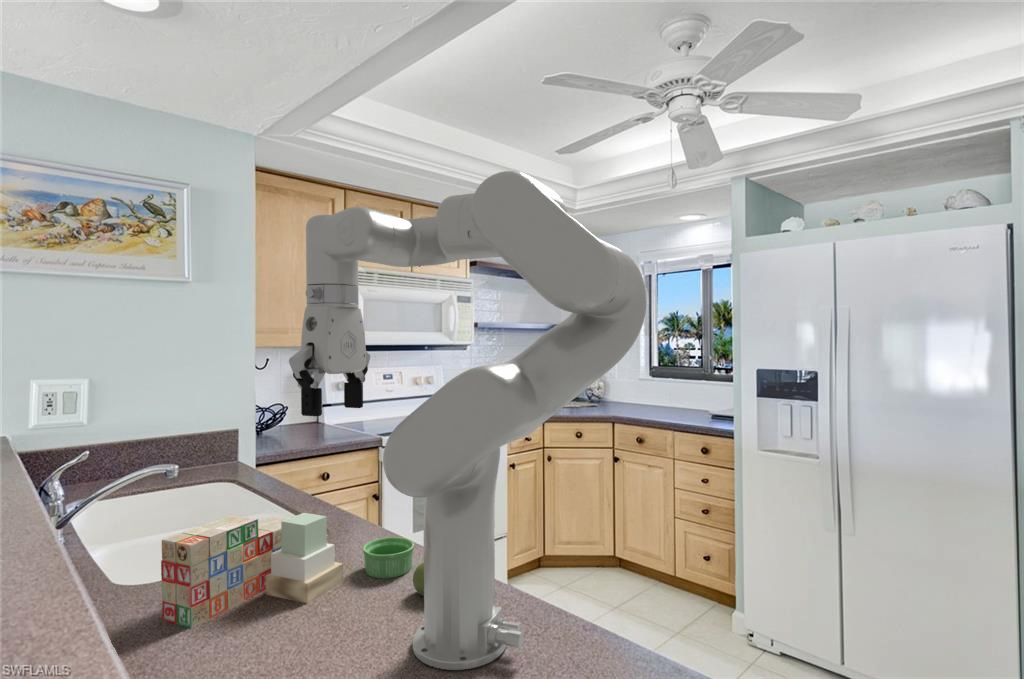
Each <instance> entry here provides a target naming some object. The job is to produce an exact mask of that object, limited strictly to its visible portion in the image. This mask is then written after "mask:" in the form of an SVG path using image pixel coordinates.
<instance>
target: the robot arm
mask: <svg viewBox="0 0 1024 679" xmlns="http://www.w3.org/2000/svg"><path fill="white" fill-rule="evenodd" d="M487 258H489V259H490V258H501V259H503V260H504V262H506V263H507V264H508V266H510V267H511V268H512V269H513V270H514V271H515V272H516V273H517V274H518V275H519V276H520V277H521V278H522V279H523V280H525V281H526V283H527V284H528V285H529V286H531V288H533V290H534V291H536V292H537V293H538V294H539V295H540V296H542V298H544V299H545V300H546V301H547V302H549V303H550V304H551V305H553V306H554V307H556V308H558V309H561V310H562V311H565V312H569V313H571V314H569V316H567V317H566V318H565V319H564V320H562V321H561V322H559V323H558V324H556V325H554V326H553V327H551V328H550V329H548V330H547V331H546V332H544V333H543V334H542V335H540V337H539V338H538V339H536V341H534V342H533V343H532V344H531V345H529V346H528V347H526V348H525V349H524V350H523V351H522V352H520V353H519V354H518V355H516V356H515V357H513V358H512V359H510V360H508V361H505V362H502V363H496V364H487V365H485V364H484V365H480V366H475V367H473V368H469V369H467V370H465V371H463V372H461V373H459V374H458V375H456V376H455V377H453V378H452V379H449V381H447V382H446V383H445V384H444V385H442V386H441V388H440V387H439V389H438V390H437V391H436V392H434V393H433V394H432V395H430V397H428V398H427V399H426V400H425V401H424V402H422V404H420V405H419V406H418V407H417V408H416V409H414V411H412V412H411V413H409V415H408V416H406V417H405V418H404V419H403V420H402V421H400V422H399V424H398V425H397V426H396V427H395V428H394V429H393V430H392V432H391V433H390V435H389V437H388V438H387V441H386V443H385V446H384V449H383V454H382V455H383V456H382V464H383V465H382V466H383V471H384V475H385V477H386V479H387V480H388V482H389V483H390V485H391V486H392V487H393V488H394V489H395V490H396V491H398V492H400V493H401V494H403V495H405V496H407V497H411V498H419V499H422V498H425V503H424V511H423V562H424V596H423V602H424V603H423V608H424V610H423V614H424V616H423V618H424V620H423V625H421V626H420V627H419V628H418V629H417V630H416V631H415V633H414V634H413V637H412V651H413V654H414V655H415V656H416V658H417V659H418V660H419V661H421V663H423V664H425V665H428V666H430V667H432V666H433V668H436V669H439V668H440V669H439V670H445V669H446V670H447V671H464V670H465V669H466V670H470V669H476V668H478V667H483V666H485V665H487V664H489V663H491V662H493V661H494V660H496V659H497V658H499V657H500V656H501V655H502V654H503V653H504V651H505V649H506V647H510V648H516V649H522V647H523V644H524V639H525V637H524V636H525V635H524V632H523V631H521V630H522V625H521V623H520V622H514V621H505V618H503V608H502V607H501V606H498V605H497V606H496V587H495V586H496V574H495V573H496V570H495V569H496V563H495V562H496V555H495V553H496V550H495V545H496V544H495V539H496V538H495V529H496V528H495V527H496V523H495V522H496V520H495V518H496V516H495V514H496V513H495V512H496V509H495V505H496V490H497V489H496V488H497V479H498V474H499V467H500V466H499V465H500V460H501V457H500V456H501V447H503V446H505V445H508V444H510V443H514V441H518V440H520V439H523V438H525V437H527V436H529V435H530V434H532V433H533V432H535V431H536V430H537V429H538V428H539V427H540V426H542V425H544V423H545V422H546V421H548V420H549V419H550V418H551V417H553V416H554V415H555V414H556V413H558V412H559V411H560V410H562V409H563V408H564V407H565V406H567V405H569V403H571V402H572V401H574V400H575V399H576V398H577V397H578V396H580V395H582V393H583V392H584V391H585V390H587V389H588V388H589V387H590V386H592V385H593V384H594V383H596V382H597V381H598V380H599V379H600V378H602V377H603V376H604V375H605V374H607V373H608V372H609V371H610V370H612V369H613V368H614V367H615V366H616V365H617V364H618V363H619V362H620V361H621V360H622V359H623V358H624V357H625V356H626V355H627V353H628V352H629V351H630V350H631V348H632V347H633V345H635V342H636V340H637V339H638V337H639V335H640V333H641V332H642V331H641V330H642V327H643V325H644V322H645V317H646V313H647V311H646V310H647V292H646V286H645V281H644V278H643V274H642V273H641V270H640V268H639V267H638V265H637V264H636V262H635V261H634V260H633V258H631V256H630V255H628V254H627V253H626V252H625V251H623V250H622V249H620V248H618V247H616V246H615V245H613V244H610V243H608V242H606V241H604V240H602V239H600V238H598V237H597V236H595V235H594V234H593V233H591V231H589V229H587V228H585V226H584V225H582V224H581V223H580V222H579V221H577V220H576V219H575V218H574V217H572V216H571V215H570V214H569V213H568V210H567V208H566V204H565V202H564V201H563V199H562V198H561V197H560V196H559V194H557V193H556V192H555V191H554V190H553V189H551V188H550V187H548V186H546V185H545V184H543V183H541V182H540V181H538V180H536V178H533V177H531V176H530V175H528V174H526V173H523V172H520V171H515V170H505V171H499V172H497V173H494V174H492V175H489V177H487V178H485V179H484V180H483V181H482V182H481V183H480V184H479V186H478V187H477V188H476V189H475V192H473V193H472V192H471V193H465V194H455V195H450V196H448V197H446V198H444V199H443V200H442V201H441V203H440V204H439V205H438V208H437V211H436V214H435V215H434V216H429V217H428V216H427V217H418V218H401V217H399V216H396V215H393V214H389V213H387V212H383V211H379V210H375V209H372V208H369V207H366V206H351V207H349V208H348V207H347V208H346V209H342V210H341V211H338V212H334V213H333V214H318V215H314V216H311V217H310V218H309V219H308V220H307V221H306V226H305V266H306V269H305V270H306V273H305V274H306V275H305V276H306V286H305V287H306V289H305V297H306V306H305V308H304V313H303V314H304V315H303V320H302V328H301V340H300V341H301V343H300V350H298V351H297V352H296V353H295V354H293V355H292V356H291V357H289V358H288V364H289V366H290V369H291V371H292V376H293V379H295V381H296V382H297V387H298V388H299V389H300V392H301V393H300V395H301V396H300V402H301V403H300V404H301V405H300V407H301V410H300V411H301V412H300V413H301V416H303V417H304V416H305V417H321V416H322V414H323V390H322V389H323V388H322V387H320V385H321V382H322V381H323V378H324V376H325V374H328V375H337V374H338V375H339V374H340V375H341V374H342V375H343V376H344V378H345V381H346V382H343V384H344V385H343V394H344V395H343V402H344V403H343V405H344V407H345V408H348V409H361V408H363V406H364V383H365V381H366V374H367V373H368V371H369V368H368V367H369V363H370V359H371V354H370V353H368V352H367V348H366V346H367V345H366V333H365V325H364V319H363V314H362V309H361V308H359V261H360V262H366V263H371V264H373V263H374V264H379V265H383V266H390V267H397V268H411V267H413V268H414V267H428V266H429V267H430V266H439V265H446V264H449V263H450V264H451V263H455V262H457V261H461V260H473V259H487ZM312 376H313V377H312Z"/></svg>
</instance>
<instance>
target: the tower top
mask: <svg viewBox="0 0 1024 679" xmlns="http://www.w3.org/2000/svg"><path fill="white" fill-rule="evenodd" d="M335 547H336V546H335V544H333V543H328V542H327V546H326V547H324V548H322V549H320V550H318V551H316V552H314V553H311V554H309V555H307V556H305V557H304V556H299V555H294V554H289V553H284V552H281V549H280V550H278V551H275V552H273V553H271V575H274V576H279V577H283V578H288V579H293V580H298V581H303V582H306V581H307V580H309V579H311V578H313V577H315V576H316V575H318V574H320V573H322V572H324V571H325V570H327V569H329V568H331V567H333V566H334V565H335V562H336V557H335V556H336V555H335V554H336V550H335V549H336V548H335Z"/></svg>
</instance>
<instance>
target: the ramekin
mask: <svg viewBox="0 0 1024 679" xmlns="http://www.w3.org/2000/svg"><path fill="white" fill-rule="evenodd" d="M414 547H415V543H414V541H412V539H409V538H405V537H401V536H400V537H399V536H387V537H386V536H385V537H381V538H376V539H373V540H371V541H368V542H367V543H365V544H364V545H363V547H362V552H363V555H364V556H363V557H364V566H365V567H364V568H365V573H366V575H368V576H370V577H371V578H376V579H394V578H398V577H401V576H403V575H406V574H407V573H409V571H410V570H411V569H412V566H413V565H412V564H413V555H414V554H413V552H414V549H415V548H414Z"/></svg>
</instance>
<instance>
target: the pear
mask: <svg viewBox="0 0 1024 679" xmlns="http://www.w3.org/2000/svg"><path fill="white" fill-rule="evenodd" d="M412 585H413V587H414V589H415V591H416V592H417V593H418V594H419V595H420V596H423V597H424V561H423V562H421V563H420V564H419V565H418V566H417V567H416V568H415V570H414V573H413V575H412Z"/></svg>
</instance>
